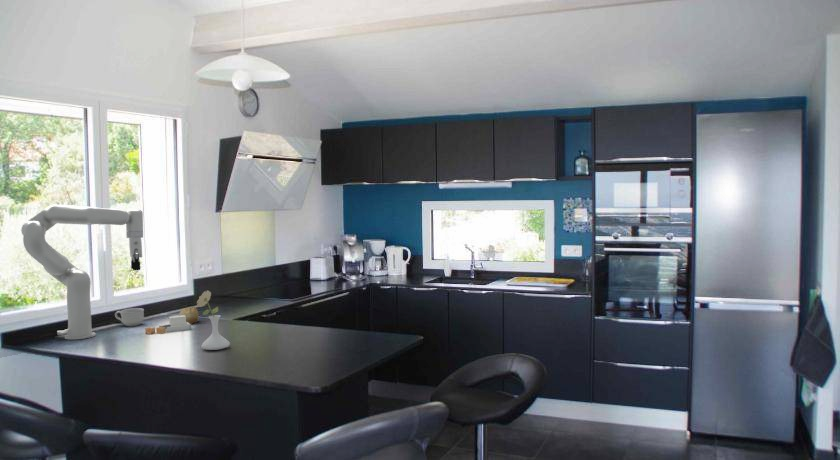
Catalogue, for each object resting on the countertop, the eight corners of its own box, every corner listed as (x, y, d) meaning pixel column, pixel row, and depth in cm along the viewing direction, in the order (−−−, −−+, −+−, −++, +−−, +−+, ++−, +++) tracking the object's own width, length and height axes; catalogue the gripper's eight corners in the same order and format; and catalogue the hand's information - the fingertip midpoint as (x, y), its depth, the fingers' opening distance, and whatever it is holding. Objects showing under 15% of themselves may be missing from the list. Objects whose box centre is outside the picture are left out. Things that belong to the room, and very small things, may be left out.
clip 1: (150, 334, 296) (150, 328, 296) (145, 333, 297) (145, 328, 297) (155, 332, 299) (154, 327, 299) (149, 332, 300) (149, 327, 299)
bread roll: (197, 319, 333) (196, 304, 332) (200, 324, 319) (199, 308, 319) (178, 321, 328) (177, 306, 328) (180, 326, 315) (179, 310, 315)
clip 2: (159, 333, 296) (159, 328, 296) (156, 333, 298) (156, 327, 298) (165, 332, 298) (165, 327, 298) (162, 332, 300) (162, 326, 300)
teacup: (148, 323, 325) (147, 307, 325) (137, 327, 314) (136, 311, 314) (123, 323, 327) (122, 308, 326) (111, 327, 316) (110, 311, 316)
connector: (160, 331, 299) (159, 319, 299) (158, 330, 302) (158, 317, 302) (186, 328, 305) (185, 316, 305) (184, 327, 308) (184, 315, 308)
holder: (167, 332, 298) (166, 327, 298) (164, 329, 306) (164, 324, 306) (191, 329, 304) (190, 324, 304) (187, 327, 311) (187, 322, 311)
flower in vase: (220, 344, 269) (217, 287, 268) (235, 348, 262) (233, 288, 261) (192, 350, 259) (189, 290, 258) (207, 354, 251) (205, 292, 250)
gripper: (144, 235, 302) (145, 270, 302) (141, 234, 317) (142, 267, 317) (127, 235, 298) (128, 271, 299) (125, 234, 313) (125, 268, 314)
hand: (135, 269), depth 308 cm, fingers open, 9 cm apart
